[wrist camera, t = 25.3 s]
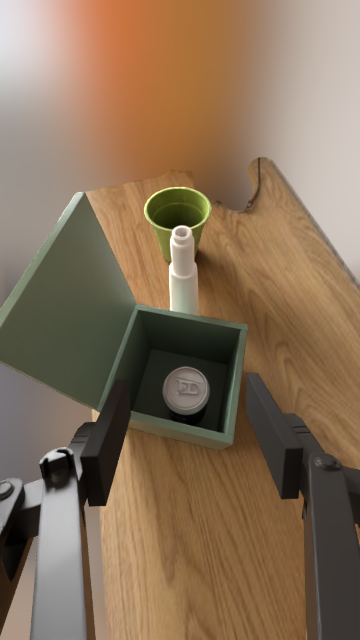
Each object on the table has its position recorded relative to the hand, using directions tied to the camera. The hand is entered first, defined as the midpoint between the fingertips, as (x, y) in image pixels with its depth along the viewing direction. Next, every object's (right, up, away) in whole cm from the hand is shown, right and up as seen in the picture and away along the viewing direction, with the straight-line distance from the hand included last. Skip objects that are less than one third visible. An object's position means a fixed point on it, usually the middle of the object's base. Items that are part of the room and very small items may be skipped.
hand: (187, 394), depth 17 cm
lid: (-9, +5, +6) cm, 12 cm away
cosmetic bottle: (0, +4, +31) cm, 31 cm away
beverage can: (+1, -8, +23) cm, 24 cm away
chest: (0, -7, +25) cm, 25 cm away
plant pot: (0, +19, +39) cm, 44 cm away
